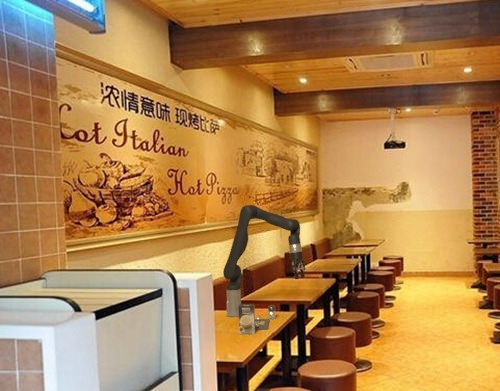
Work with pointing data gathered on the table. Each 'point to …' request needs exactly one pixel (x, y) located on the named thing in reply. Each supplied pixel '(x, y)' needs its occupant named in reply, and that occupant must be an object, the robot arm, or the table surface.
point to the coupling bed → (261, 323)
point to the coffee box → (246, 318)
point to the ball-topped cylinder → (271, 312)
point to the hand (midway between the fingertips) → (300, 278)
